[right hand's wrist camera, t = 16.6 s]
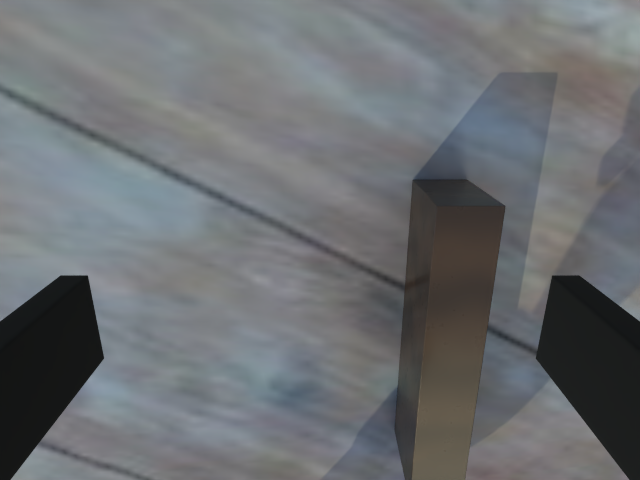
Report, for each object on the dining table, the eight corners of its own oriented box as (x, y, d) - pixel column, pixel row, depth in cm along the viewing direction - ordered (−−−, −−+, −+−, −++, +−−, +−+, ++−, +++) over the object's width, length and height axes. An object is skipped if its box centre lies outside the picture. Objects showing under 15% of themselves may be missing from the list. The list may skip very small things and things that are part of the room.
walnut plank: (412, 179, 36) (436, 205, 29) (467, 179, 36) (505, 205, 29) (394, 430, 45) (409, 500, 38) (438, 430, 45) (462, 500, 38)
